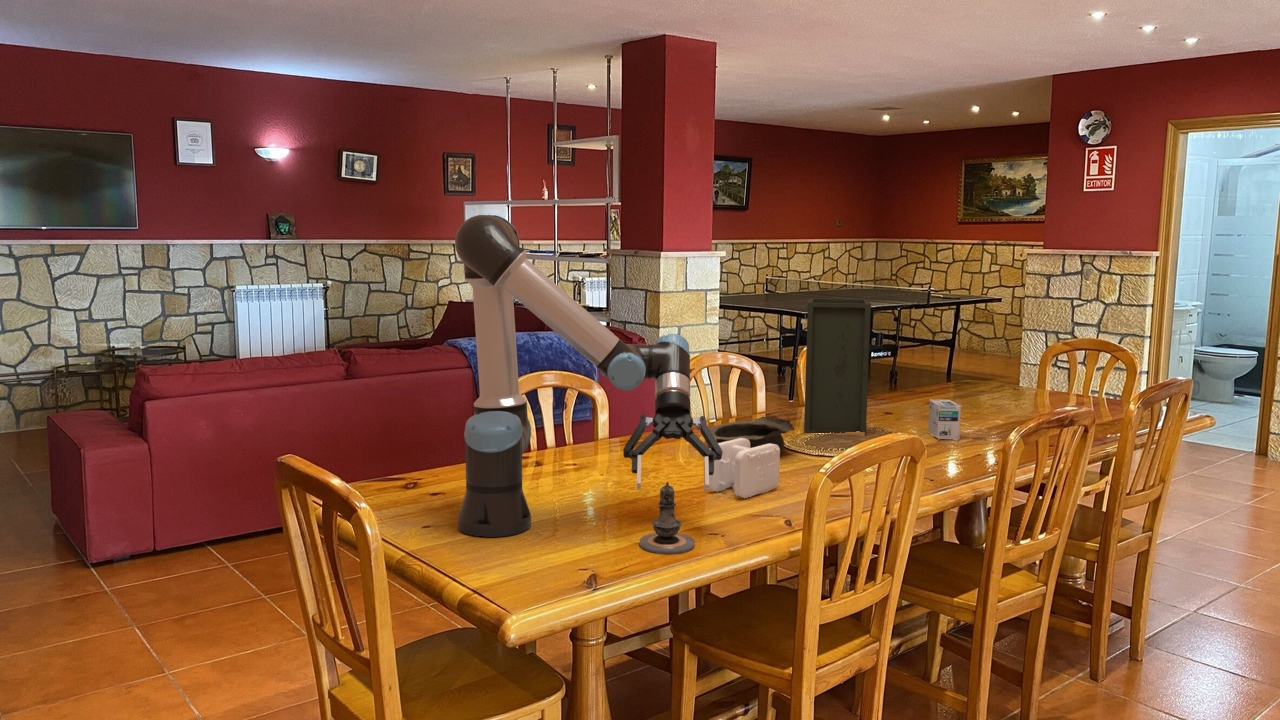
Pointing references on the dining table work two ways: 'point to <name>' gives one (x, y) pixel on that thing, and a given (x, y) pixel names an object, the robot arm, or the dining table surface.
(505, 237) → the robot arm
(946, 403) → the light bulb box
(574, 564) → the dining table surface
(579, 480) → the dining table surface
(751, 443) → the black brimmed hat
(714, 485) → the cable organizer
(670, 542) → the salt shaker
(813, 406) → the dark green rectangular pillar
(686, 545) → the coaster
